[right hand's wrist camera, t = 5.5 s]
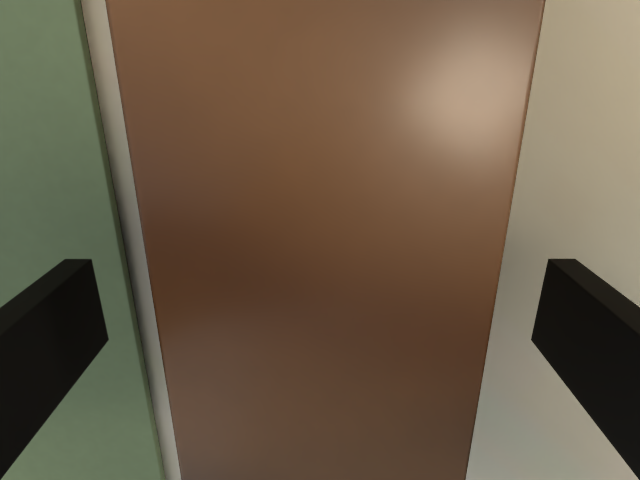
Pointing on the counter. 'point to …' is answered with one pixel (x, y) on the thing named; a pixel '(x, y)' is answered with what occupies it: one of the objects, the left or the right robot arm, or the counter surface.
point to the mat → (69, 241)
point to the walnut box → (324, 222)
